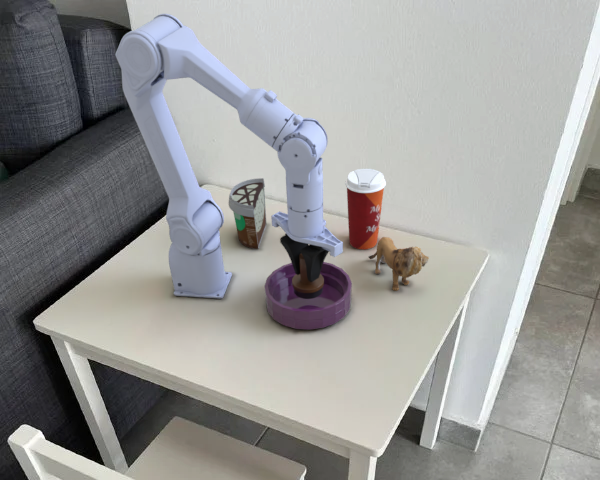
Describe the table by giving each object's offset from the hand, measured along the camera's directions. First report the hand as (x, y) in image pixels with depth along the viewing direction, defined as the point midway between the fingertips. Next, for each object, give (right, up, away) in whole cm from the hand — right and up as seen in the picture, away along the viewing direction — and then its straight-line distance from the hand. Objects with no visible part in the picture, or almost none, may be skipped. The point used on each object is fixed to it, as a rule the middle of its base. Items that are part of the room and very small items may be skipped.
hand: (307, 275), depth 108 cm
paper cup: (+12, +10, +19) cm, 24 cm away
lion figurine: (+17, +1, +10) cm, 19 cm away
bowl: (0, -4, +5) cm, 6 cm away
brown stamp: (0, -2, +2) cm, 3 cm away
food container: (-12, +12, +22) cm, 28 cm away
